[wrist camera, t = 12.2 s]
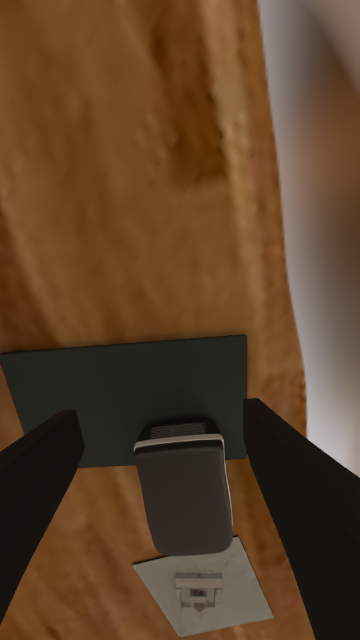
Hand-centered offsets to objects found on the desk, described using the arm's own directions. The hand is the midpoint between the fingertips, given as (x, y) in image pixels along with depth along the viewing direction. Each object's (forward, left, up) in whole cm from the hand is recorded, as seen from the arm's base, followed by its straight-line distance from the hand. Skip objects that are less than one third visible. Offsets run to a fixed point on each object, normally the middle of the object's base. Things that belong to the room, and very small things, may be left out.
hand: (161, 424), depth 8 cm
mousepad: (-2, -27, -8) cm, 29 cm away
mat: (-4, -5, -8) cm, 10 cm away
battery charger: (0, -5, -6) cm, 8 cm away
